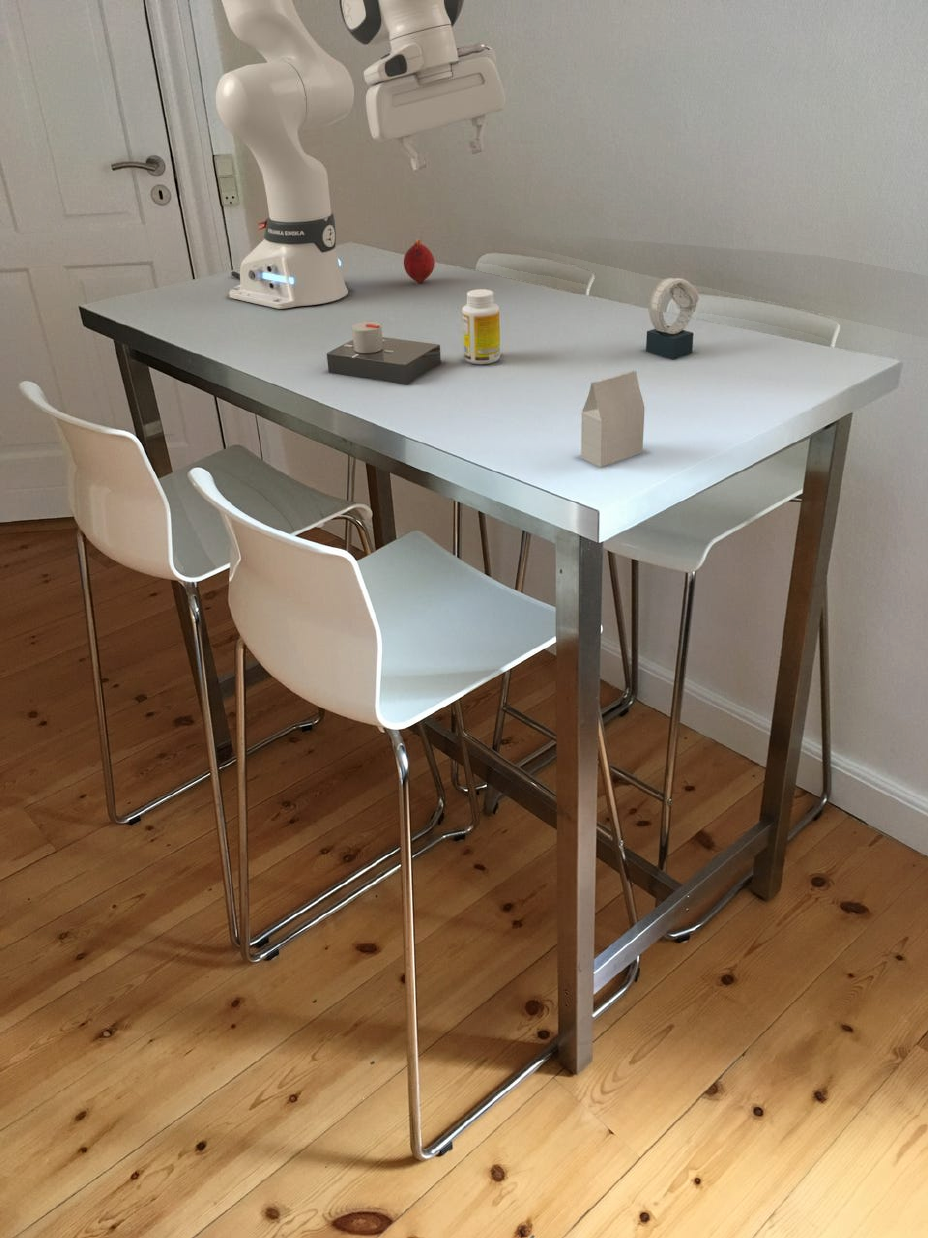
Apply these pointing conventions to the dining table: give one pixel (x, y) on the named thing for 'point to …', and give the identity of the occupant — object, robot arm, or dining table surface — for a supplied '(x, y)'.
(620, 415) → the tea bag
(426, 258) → the onion
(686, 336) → the watch
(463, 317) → the supplement bottle
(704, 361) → the dining table surface
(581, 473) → the dining table surface
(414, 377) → the hob
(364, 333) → the knob
